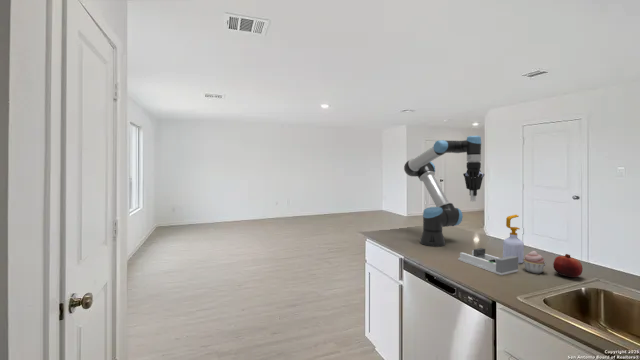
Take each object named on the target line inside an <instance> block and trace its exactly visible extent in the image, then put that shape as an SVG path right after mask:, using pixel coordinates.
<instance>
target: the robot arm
mask: <svg viewBox="0 0 640 360" xmlns="http://www.w3.org/2000/svg"><path fill="white" fill-rule="evenodd" d="M446 153H448V154H449V153H450V154H451V153H453V154H461V153H463V154H464V153H466V172H465V173H463V174H462V175H463V177H464V182H465V188H466V189H467V190H469V196H470V197H469V198H470V202H476V201H477V200H476V199H477V195H478V192H477V191H479V190H481V187H482V182H483V179H484V176H485V173H482V171H481V168H482V167H481V166H482V163H481V161H482V137H481V136H480V135H468V136H466V139H465V140H444V139H441V140H439V139H438V140H436V141H435V142H434V143H433V146H432V147H431V148H429V149H427V150H426V151H424V152H422V153H421V154H420V155H418V156H417V157H414V158H411V159H409V160H407V161H406V162H405V163H404V167H403V170H404V172H405V174H406V175H407V176H409V177H418V179H419V181H420V182H422V183H423V184H424V186H425V188H426V190H427V192H428V194H429V196H430V198H431V199H432V201H433V203H434V205H435V206H431V207H425V209H424V210H423V213H422V219H423V221H422V222H423V223H422V227H423V228H422V234H421V237H420V239H419V240H420V242H419V243H420V244H422V245H424V246H427V247H444V246H446V241H445V238H444V233H443V227H455V226H456V227H457V226H459V225H460V224H461V223H462V222H463V217H464V216H463V212H462V210H461V209H460V208H457V207H455V206H454V204H453V203H452V202H450V201H449V200H448V198H447V196H446V195H445V193H444V191H443V190H442V189H443V188H441V186H440V184H439V182H438V180H437V179H436V176H435V174H436V166H435V164H434V163H433V162H432V161H434V160H436V159H437V158H439V157H441V156H443V155H445V154H446Z"/></svg>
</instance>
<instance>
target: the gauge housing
mask: <svg viewBox="0 0 640 360" xmlns="http://www.w3.org/2000/svg"><path fill="white" fill-rule="evenodd" d="M473 255H474V249H473V250H471V254H469V253H466V252H459V257H457V260H458V261H460V262H463V263H466V264H468V265H471V266H474V267H477V268H480V269H483V270H484V271H485V270H486V271H488V272H491V273H493V274H497V275H499V276H503V275H509V274H513V273H517V272H519V263H518V257H517V256H508V257H503V256H502V257H497V256H494V255H491V254H488V253H485V255H488V256H491V257H495V258H498V259H496V263H495V262H489V261H488V260H485V259H482V258H478V257H475V256H473Z"/></svg>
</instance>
